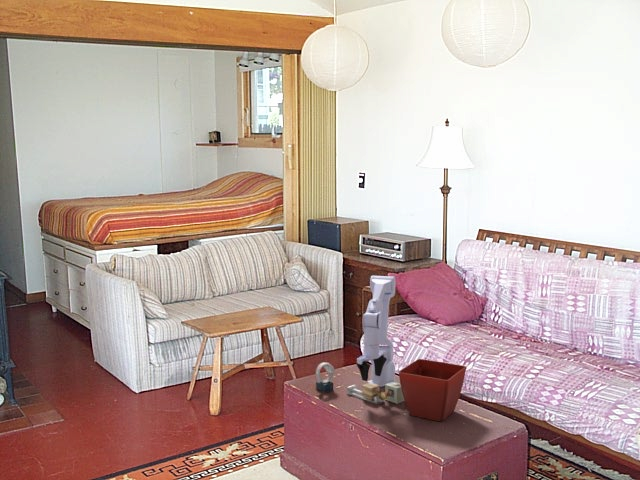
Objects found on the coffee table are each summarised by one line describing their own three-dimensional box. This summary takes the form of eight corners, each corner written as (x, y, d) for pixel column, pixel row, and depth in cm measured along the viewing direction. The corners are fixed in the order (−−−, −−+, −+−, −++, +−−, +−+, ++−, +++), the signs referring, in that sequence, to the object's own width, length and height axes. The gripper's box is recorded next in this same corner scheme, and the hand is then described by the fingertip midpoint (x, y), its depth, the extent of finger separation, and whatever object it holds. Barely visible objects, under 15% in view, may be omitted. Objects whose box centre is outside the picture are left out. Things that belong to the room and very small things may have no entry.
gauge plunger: (391, 394, 281) (391, 387, 281) (397, 396, 279) (397, 389, 279) (379, 399, 277) (379, 391, 276) (385, 401, 275) (385, 393, 274)
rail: (354, 391, 291) (354, 384, 290) (383, 401, 279) (383, 394, 279) (347, 393, 288) (347, 386, 287) (376, 404, 277) (376, 397, 276)
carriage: (369, 393, 285) (369, 382, 284) (379, 396, 281) (379, 385, 280) (361, 396, 282) (361, 385, 281) (371, 399, 278) (371, 388, 277)
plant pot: (418, 400, 281) (418, 357, 278) (466, 409, 271) (467, 365, 269) (396, 416, 265) (397, 371, 262) (447, 427, 255) (448, 380, 252)
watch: (337, 389, 293) (337, 362, 292) (321, 393, 288) (321, 366, 286) (327, 385, 297) (327, 359, 296) (312, 390, 292) (312, 363, 291)
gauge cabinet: (395, 395, 286) (395, 380, 285) (407, 399, 281) (407, 383, 280) (385, 399, 282) (385, 383, 281) (396, 403, 277) (397, 387, 276)
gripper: (376, 337, 286) (375, 371, 288) (350, 345, 276) (350, 380, 278) (390, 341, 281) (389, 375, 283) (365, 349, 271) (364, 384, 273)
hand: (371, 378), depth 280 cm, fingers open, 7 cm apart
